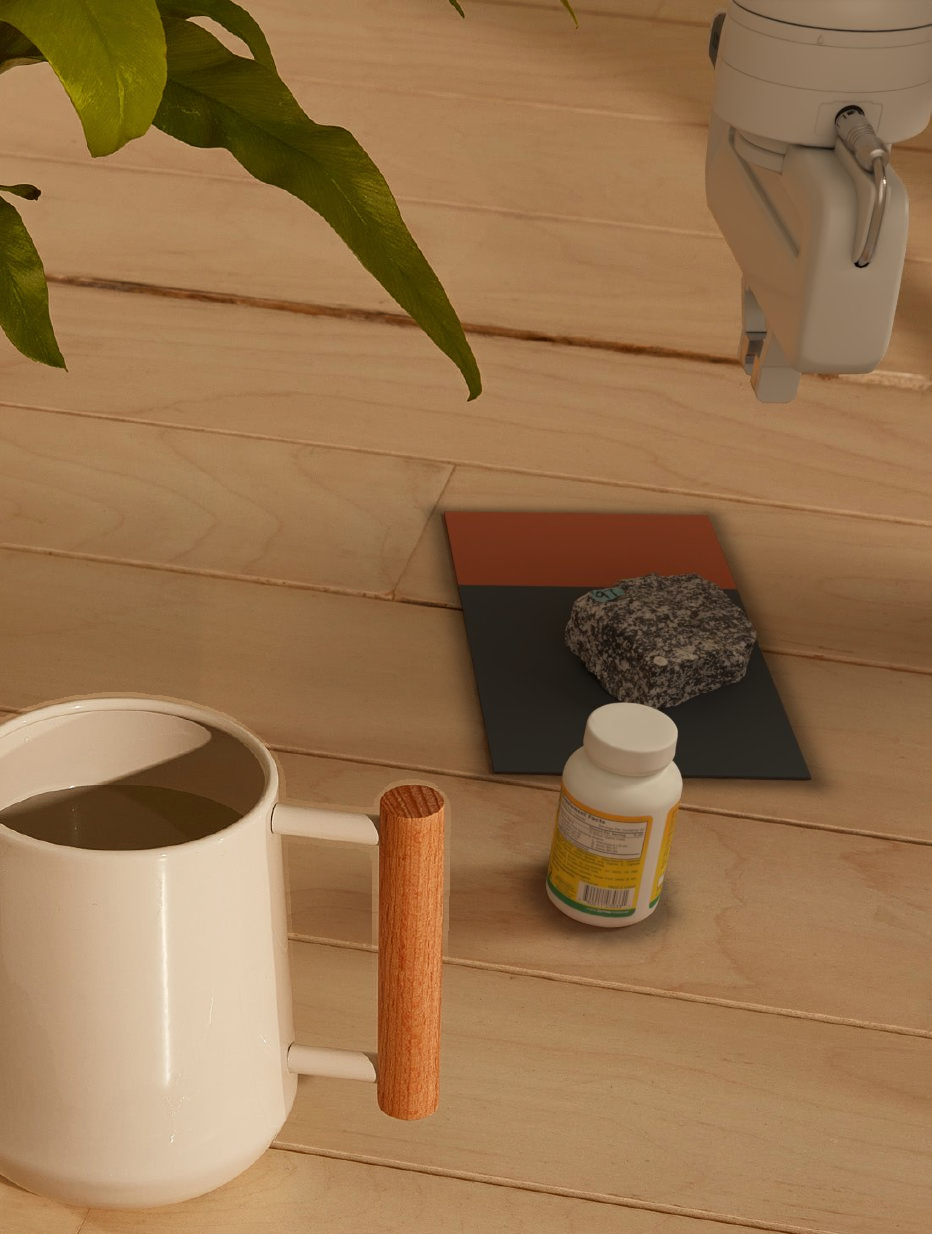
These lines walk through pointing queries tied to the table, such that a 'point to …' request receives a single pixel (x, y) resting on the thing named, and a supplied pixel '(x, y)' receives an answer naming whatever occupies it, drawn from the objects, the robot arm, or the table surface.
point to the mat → (558, 680)
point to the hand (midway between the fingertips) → (764, 383)
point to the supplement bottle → (615, 817)
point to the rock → (661, 638)
